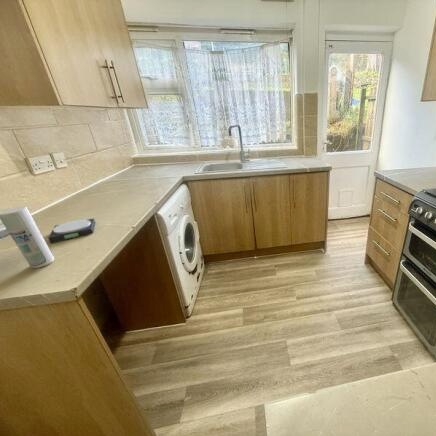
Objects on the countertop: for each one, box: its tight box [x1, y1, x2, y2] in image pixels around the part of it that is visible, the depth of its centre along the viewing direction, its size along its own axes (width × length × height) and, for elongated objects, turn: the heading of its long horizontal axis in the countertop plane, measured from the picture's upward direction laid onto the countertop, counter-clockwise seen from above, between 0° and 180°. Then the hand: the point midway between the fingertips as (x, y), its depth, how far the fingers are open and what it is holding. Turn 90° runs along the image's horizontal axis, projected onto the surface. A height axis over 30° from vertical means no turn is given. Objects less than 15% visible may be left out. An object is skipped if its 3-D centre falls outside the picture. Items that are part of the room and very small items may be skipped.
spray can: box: [0, 206, 55, 269], centre depth 81 cm, size 6×6×20 cm
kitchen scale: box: [47, 218, 96, 244], centre depth 106 cm, size 14×14×3 cm
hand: (12, 235), depth 81 cm, fingers open, 8 cm apart
